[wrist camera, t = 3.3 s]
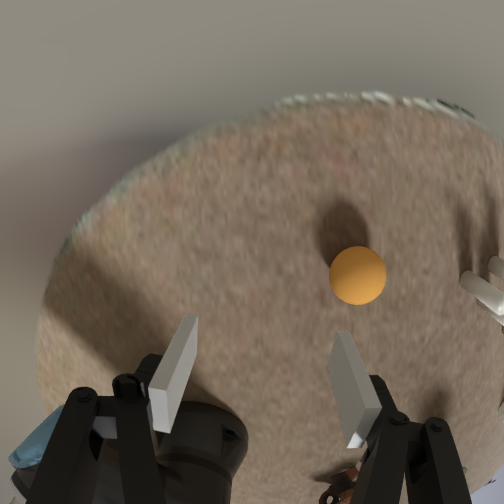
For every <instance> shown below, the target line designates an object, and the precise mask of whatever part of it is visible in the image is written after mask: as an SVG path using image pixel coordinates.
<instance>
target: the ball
mask: <svg viewBox="0 0 504 504" xmlns="http://www.w3.org/2000/svg"><path fill="white" fill-rule="evenodd" d="M329 279H330V284H331V287H332V289H333V291H334V292H335V294H336V295H337V296H338V297H339V298H340V299H341V300H343V301H345V302H347V303H350V304H354V305H360V304H366V303H368V302H370V301H372V300H374V299H375V298H376V297H377V296H378V295H379V294H380V293H381V291H382V290H383V288H384V285H385V282H386V268H385V265H384V262H383V260H382V259H381V257H380V256H379V255H378V254H377V253H376V252H374V251H373V250H371V249H369V248H367V247H362V246H354V247H350V248H347V249H345V250H343V251H342V252H340V253H339V254H338V255H337V256H336V258H335V259H334V261H333V263H332V265H331V268H330V273H329Z"/></svg>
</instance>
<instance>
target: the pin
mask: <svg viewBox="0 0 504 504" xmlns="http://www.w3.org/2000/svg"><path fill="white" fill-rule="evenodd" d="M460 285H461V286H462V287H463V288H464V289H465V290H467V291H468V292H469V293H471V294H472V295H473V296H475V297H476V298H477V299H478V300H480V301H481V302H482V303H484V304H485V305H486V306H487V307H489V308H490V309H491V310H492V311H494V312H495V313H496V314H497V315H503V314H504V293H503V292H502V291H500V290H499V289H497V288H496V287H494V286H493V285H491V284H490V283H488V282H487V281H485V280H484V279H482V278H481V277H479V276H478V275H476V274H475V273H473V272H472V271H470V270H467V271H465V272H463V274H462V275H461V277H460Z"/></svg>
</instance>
